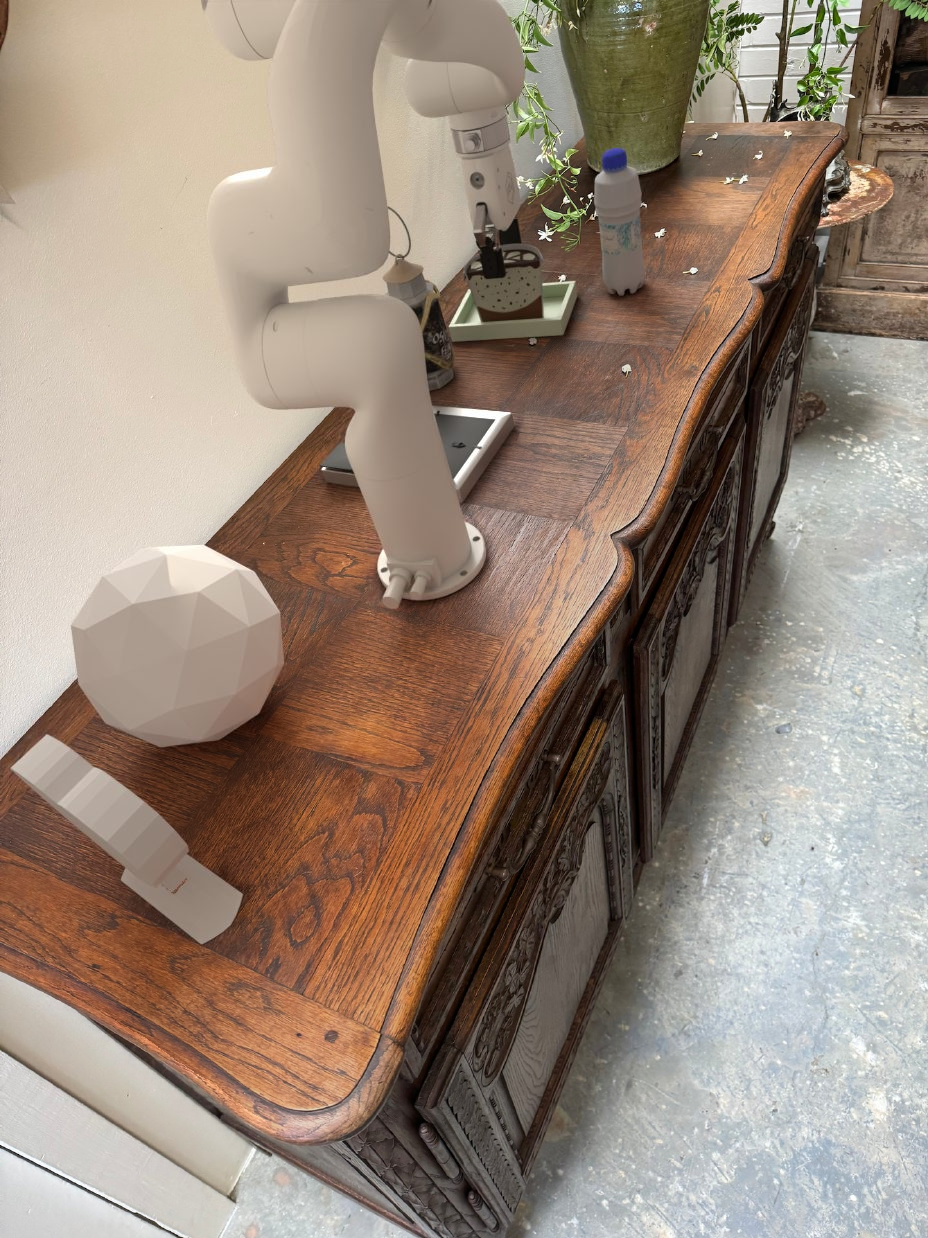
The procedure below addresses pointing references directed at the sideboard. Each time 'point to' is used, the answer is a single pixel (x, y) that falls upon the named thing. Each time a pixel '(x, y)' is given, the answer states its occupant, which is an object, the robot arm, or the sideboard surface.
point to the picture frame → (446, 446)
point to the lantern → (423, 314)
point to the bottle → (619, 223)
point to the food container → (509, 285)
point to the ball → (178, 645)
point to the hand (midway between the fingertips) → (503, 261)
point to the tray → (554, 323)
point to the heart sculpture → (131, 839)
